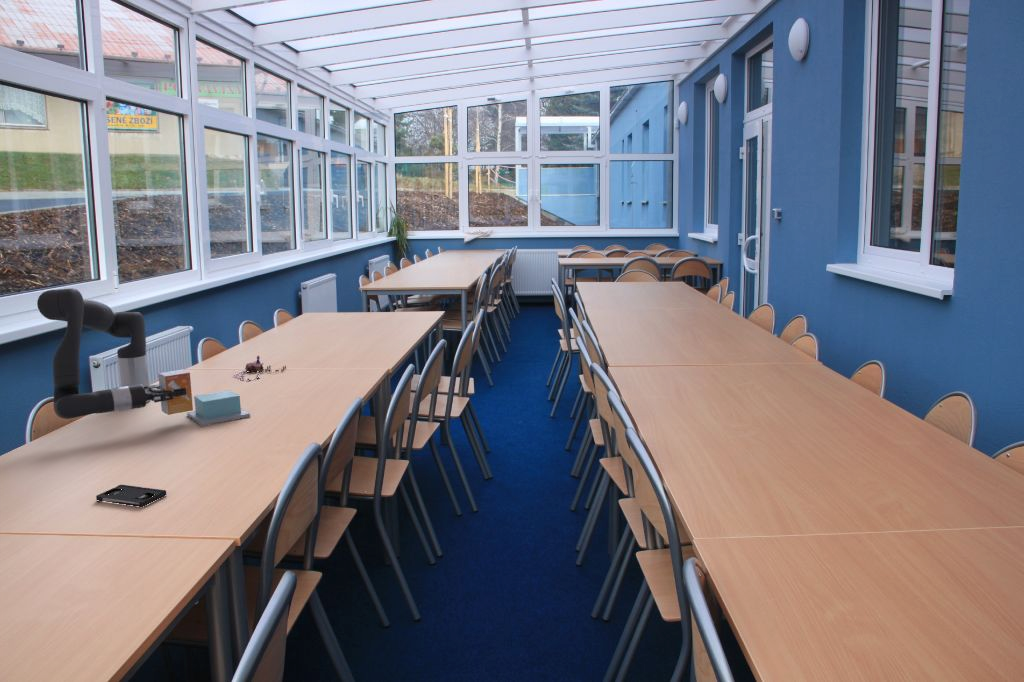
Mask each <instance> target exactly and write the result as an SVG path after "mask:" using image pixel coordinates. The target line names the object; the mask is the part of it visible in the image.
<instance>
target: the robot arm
mask: <svg viewBox="0 0 1024 682" xmlns="http://www.w3.org/2000/svg"><path fill="white" fill-rule="evenodd" d="M36 302H37V303H36V306H37V309H38V312H39V313H40V315H42V316H43V317H44V318H45V319H47V320H50V321H62V322H66V323H67V324H66V331H65V332H64V333H65V334H64V335H63V338H62V340H61V342H60V344H59V345H58V347H57V349H56V350H55V353H54V356H53V359H52V373H53V374H52V375H53V385H54V387H53V388H54V390H53V410H54V412H55V414H56V416H57V417H59V418H61V419H63V420H64V419H67V420H68V419H73V418H75V419H76V418H80V417H85V416H89V415H94V414H96V415H97V414H105V413H112V412H120V411H121V412H122V411H129V410H134V409H141V408H145V407H146V406H147V403H148V402H153V403H161V401H166V400H172V399H174V397H176V396H182V395H186V389H185V388H181V389H175V390H167V391H166V389H160V386H159V384H153V385H150V379H149V369H148V361H147V353H146V350H147V340H146V339H147V337H146V323H145V318H144V316H143V314H142V313H141V312H138V311H119V312H113V309H112V308H111V307H110V306H108V305H107V304H105V303H103V302H99V301H97V300H96V301H95V300H93V299H92V300H91V299H90V300H89V299H84V297H83V295H82V293H81V292H80V291H79V290H78V289H77V288H63V289H62V288H61V289H49V290H46V291H43V292H42V293H41V294H40V295H39V296H38V298H37V301H36ZM83 327H84V328H85V329H91V330H94V331H100V332H103V333H107V334H109V335H110V336H112V337H114V338H119V339H120V338H121V339H122V338H125V339H128V338H130V343H129V344H127V345H125V346H123V347H119V348H118V349H117V351H116V353H117V362H118V371H119V377H120V378H119V379H120V386H118V387H114V388H110V389H109V388H108V389H102V390H96V391H93V392H86V393H85V392H84V393H80V392H79V391H80V388H79V385H81V384H80V383H81V372H80V369H81V368H80V349H81V340H82V332H83ZM166 394H169V396H166Z"/></svg>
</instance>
